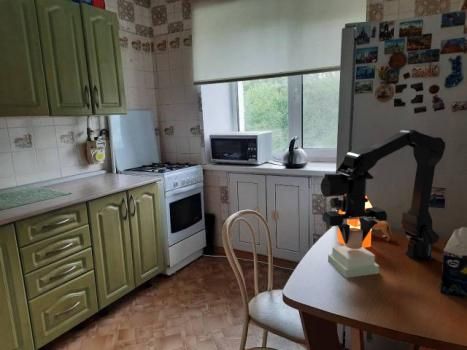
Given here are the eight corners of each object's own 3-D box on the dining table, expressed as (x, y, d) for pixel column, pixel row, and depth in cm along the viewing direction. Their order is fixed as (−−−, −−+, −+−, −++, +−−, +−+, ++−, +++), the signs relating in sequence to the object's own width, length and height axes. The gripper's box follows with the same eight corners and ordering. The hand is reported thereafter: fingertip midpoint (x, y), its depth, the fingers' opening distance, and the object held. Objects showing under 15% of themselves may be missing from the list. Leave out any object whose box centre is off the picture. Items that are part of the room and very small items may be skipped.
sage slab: (358, 259, 112) (358, 250, 112) (378, 274, 102) (379, 265, 101) (327, 263, 110) (328, 254, 109) (345, 279, 99) (345, 270, 99)
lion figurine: (354, 234, 132) (355, 212, 130) (358, 230, 136) (359, 209, 134) (394, 243, 123) (396, 219, 121) (398, 238, 127) (399, 215, 125)
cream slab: (357, 252, 110) (357, 243, 110) (374, 264, 102) (375, 255, 101) (332, 255, 108) (332, 247, 108) (347, 268, 100) (348, 259, 99)
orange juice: (353, 250, 118) (356, 195, 114) (337, 241, 126) (339, 189, 122) (371, 246, 121) (374, 192, 117) (353, 237, 129) (356, 187, 125)
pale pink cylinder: (356, 241, 107) (357, 227, 106) (365, 248, 103) (366, 232, 102) (342, 243, 106) (342, 228, 105) (350, 249, 102) (351, 234, 101)
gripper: (368, 185, 111) (365, 230, 114) (315, 190, 107) (314, 236, 110) (389, 193, 100) (386, 243, 103) (331, 199, 97) (330, 249, 100)
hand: (353, 242), depth 104 cm, fingers closed on pale pink cylinder, 5 cm apart
